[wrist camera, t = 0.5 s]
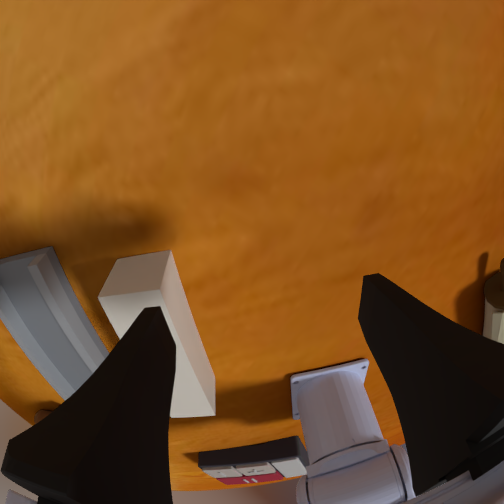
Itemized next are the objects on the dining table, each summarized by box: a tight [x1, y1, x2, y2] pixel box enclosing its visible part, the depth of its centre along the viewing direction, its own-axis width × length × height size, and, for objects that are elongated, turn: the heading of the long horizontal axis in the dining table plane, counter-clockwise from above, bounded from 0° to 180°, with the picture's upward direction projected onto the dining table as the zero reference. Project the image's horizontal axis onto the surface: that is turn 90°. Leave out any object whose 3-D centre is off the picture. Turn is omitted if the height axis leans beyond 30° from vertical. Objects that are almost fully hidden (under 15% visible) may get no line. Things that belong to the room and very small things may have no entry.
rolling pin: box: [483, 258, 504, 344], centre depth 28 cm, size 32×6×5 cm, turn 29°
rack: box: [0, 246, 109, 401], centre depth 21 cm, size 18×8×2 cm, turn 8°
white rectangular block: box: [98, 250, 215, 418], centre depth 21 cm, size 14×4×4 cm, turn 8°
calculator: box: [198, 436, 310, 485], centre depth 37 cm, size 11×4×15 cm
